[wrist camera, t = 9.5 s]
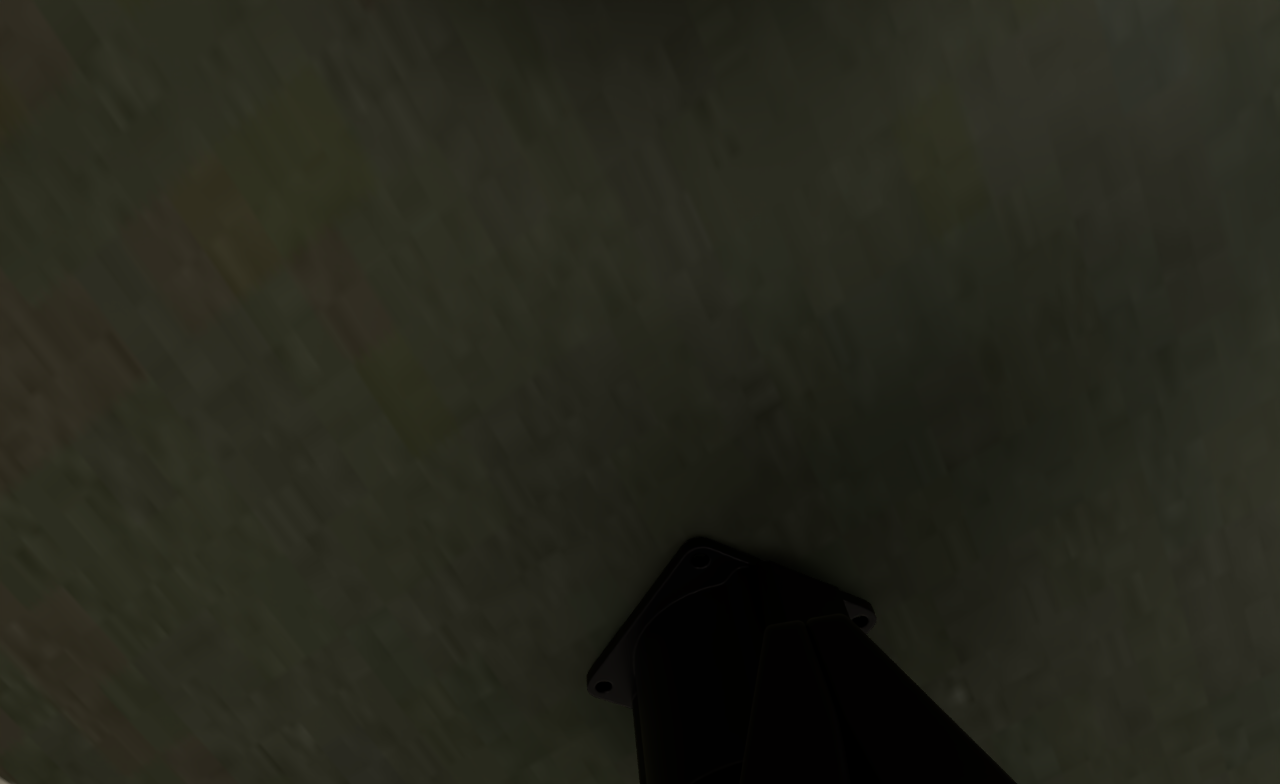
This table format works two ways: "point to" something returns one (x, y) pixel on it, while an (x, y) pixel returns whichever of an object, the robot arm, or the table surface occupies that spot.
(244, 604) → the table surface
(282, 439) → the table surface
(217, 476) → the table surface
